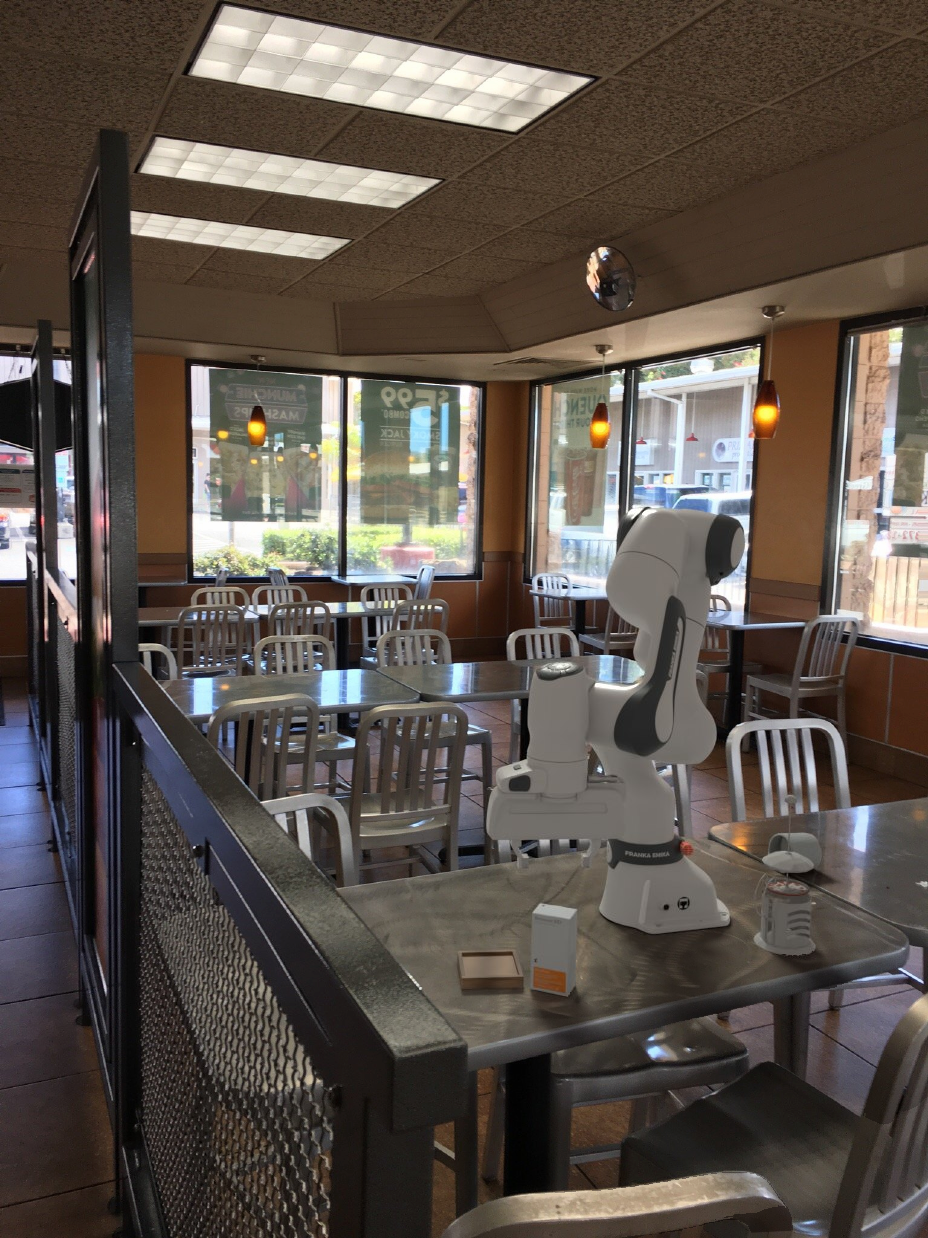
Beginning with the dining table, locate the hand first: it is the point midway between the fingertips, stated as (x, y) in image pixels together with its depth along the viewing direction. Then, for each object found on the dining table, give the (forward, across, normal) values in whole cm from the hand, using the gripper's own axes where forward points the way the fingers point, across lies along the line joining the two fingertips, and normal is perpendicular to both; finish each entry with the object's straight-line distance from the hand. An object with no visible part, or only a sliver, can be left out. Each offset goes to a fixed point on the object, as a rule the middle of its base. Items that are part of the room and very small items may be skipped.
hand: (554, 867), depth 146 cm
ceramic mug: (+18, -56, -48) cm, 76 cm away
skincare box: (+19, 0, 0) cm, 19 cm away
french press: (+18, -40, -13) cm, 46 cm away
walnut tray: (+19, +9, -5) cm, 21 cm away
